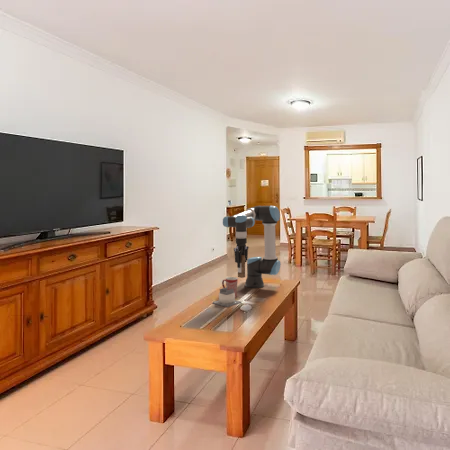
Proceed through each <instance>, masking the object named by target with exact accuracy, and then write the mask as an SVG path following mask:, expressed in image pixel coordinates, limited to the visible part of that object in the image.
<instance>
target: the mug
mask: <svg viewBox="0 0 450 450" xmlns="http://www.w3.org/2000/svg"><path fill="white" fill-rule="evenodd" d="M238 280H239V277H236V276H235V277H234V276H227V277H225V279H222V281H221V285H222V288H226V287H227V290H230V289H234V293H235V298H236V297H237V296H238V294H237V293H238ZM224 283H225V284H226V285H225V284H224Z"/></svg>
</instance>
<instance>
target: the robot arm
mask: <svg viewBox="0 0 450 450" xmlns="http://www.w3.org/2000/svg"><path fill="white" fill-rule="evenodd" d="M280 218H281V213H280V210H279V208H278V207H277V206H275V205H255V206H252V207H248V208H247V209H245V211H242V212H239V213H236V214H234V215H230V216H224V217H223V218H222V225H223V227H226V228H235V244H236V247H235V248H233V252H234V262H235V263H236V265H237V273H238V272H239V273H242V268H241V255H245V263H246V267H247V268H246V269H247V270H246V276H247V277H246V279H245V282H244V284H245V285H244V286H245V287H246V288H251V289H259V288H263V287H265V283H264V280H263V275H269V276H276V275H278V274H279V272H280V270H281V265H282V264H281V261H280V260H278V259H279V258H278V256H277V252H276V226H277V224H278V221H280ZM256 221H259V222H261V223H262V225H263V228H264V229H263V233H264V240H263V241H264V256H263V257H262V256H253V257H248V254H249V253H248V252H249V248H250V247H249V246H247V243H248V242H247V241H248V239H247V237H248V235H247V234H248V233H247V232H248V231H247V230H248V229H250V228H252V227H254V225H255V223H256Z"/></svg>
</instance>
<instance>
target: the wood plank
mask: <svg viewBox="0 0 450 450" xmlns="http://www.w3.org/2000/svg"><path fill="white" fill-rule="evenodd" d="M241 268H242V273H239V272H238V271H237V278H241V279H243V278H246V262H245V255H241Z"/></svg>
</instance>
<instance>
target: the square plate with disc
mask: <svg viewBox="0 0 450 450" xmlns="http://www.w3.org/2000/svg"><path fill="white" fill-rule="evenodd" d="M212 302H213V303H212V304H214V305H218V306H222V307H226V308H229V307H231V306H235V305H239V304H241V303H242V301H239V300H236V297H235V293H234V289H230V290H227V287H226V286H225V288H223V287H222V288H220V289H219V292H218V300H216V301H212Z"/></svg>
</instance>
